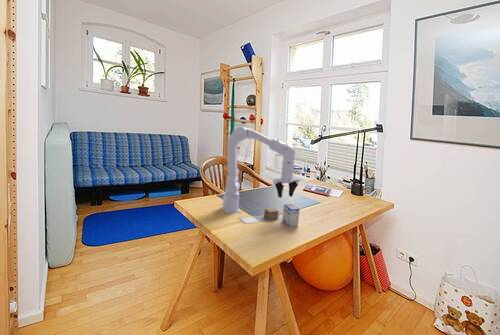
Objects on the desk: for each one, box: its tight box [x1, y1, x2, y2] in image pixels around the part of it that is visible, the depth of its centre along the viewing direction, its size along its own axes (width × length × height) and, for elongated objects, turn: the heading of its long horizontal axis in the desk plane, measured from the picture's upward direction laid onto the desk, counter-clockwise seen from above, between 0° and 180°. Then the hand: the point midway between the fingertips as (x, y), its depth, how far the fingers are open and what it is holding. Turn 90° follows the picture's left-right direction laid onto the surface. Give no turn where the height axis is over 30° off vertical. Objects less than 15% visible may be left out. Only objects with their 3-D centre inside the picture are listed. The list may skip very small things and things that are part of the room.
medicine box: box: [281, 203, 300, 228], centre depth 130 cm, size 8×4×9 cm, turn 21°
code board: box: [237, 214, 283, 225], centre depth 135 cm, size 8×21×1 cm, turn 117°
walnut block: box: [263, 207, 279, 220], centre depth 137 cm, size 5×5×4 cm
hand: (285, 196), depth 139 cm, fingers open, 6 cm apart
